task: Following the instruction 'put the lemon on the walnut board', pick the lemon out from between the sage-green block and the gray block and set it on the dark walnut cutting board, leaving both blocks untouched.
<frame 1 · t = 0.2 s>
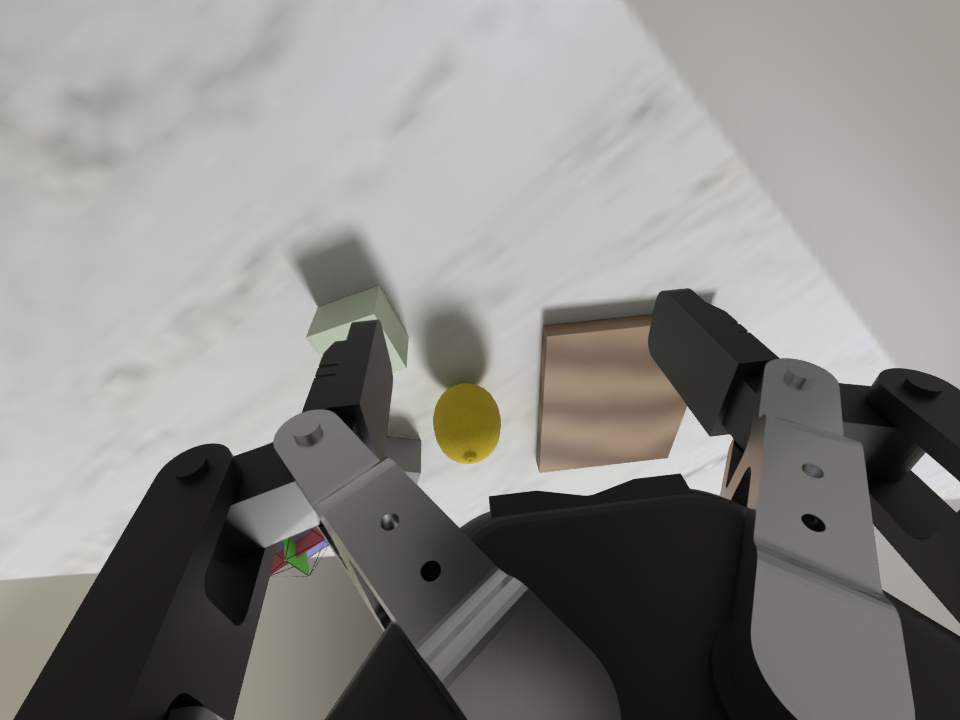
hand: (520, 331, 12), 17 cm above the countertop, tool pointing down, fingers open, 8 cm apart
lemon: (463, 386, 37), on the countertop
geometric puzzle: (302, 513, 47), on the countertop
walnut board: (611, 395, 39), on the countertop
gray block: (392, 452, 42), on the countertop
sage block: (365, 321, 32), on the countertop
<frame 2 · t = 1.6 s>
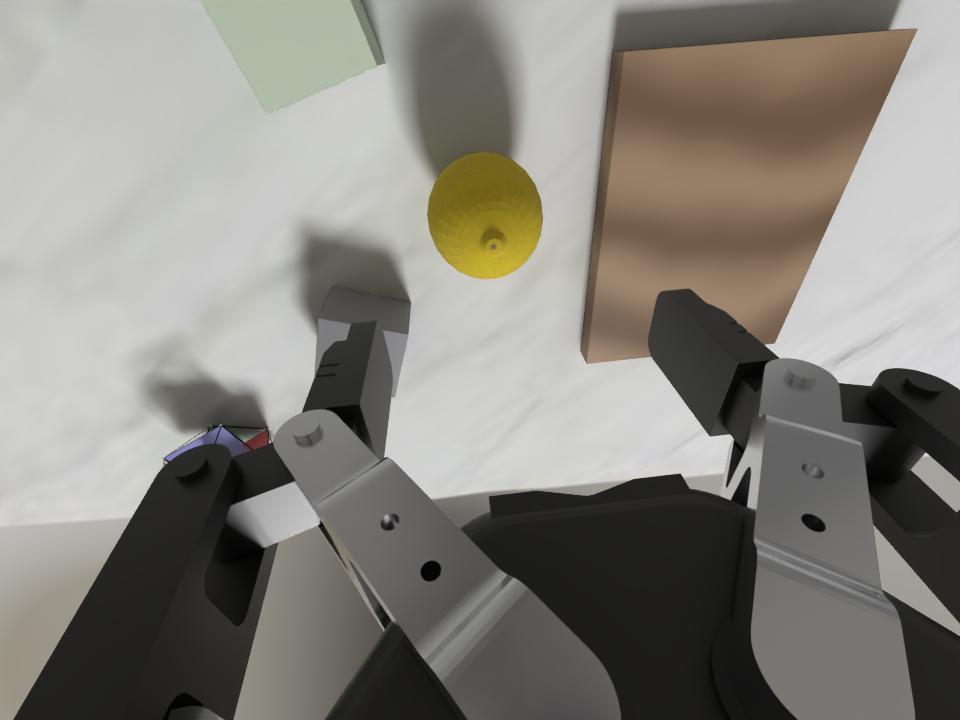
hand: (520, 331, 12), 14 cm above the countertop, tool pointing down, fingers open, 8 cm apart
lemon: (476, 192, 23), on the countertop
geometric puzzle: (243, 435, 33), on the countertop
walnut board: (703, 223, 26), on the countertop
gray block: (367, 325, 28), on the countertop
sage block: (308, 20, 18), on the countertop
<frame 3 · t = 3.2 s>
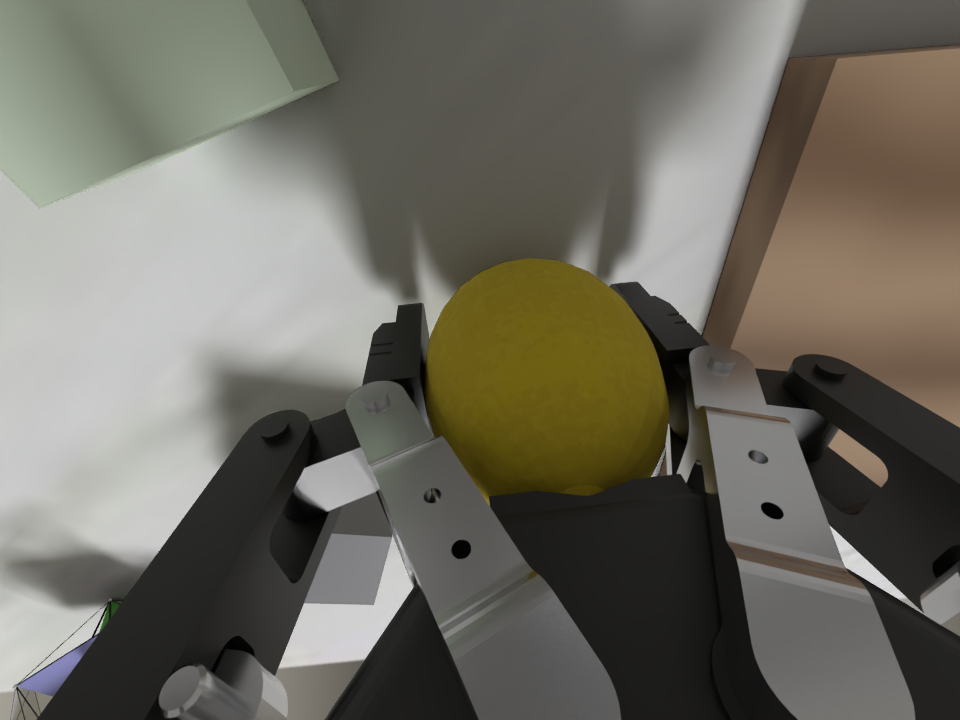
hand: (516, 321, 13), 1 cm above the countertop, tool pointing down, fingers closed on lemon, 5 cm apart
lemon: (510, 299, 14), on the countertop, touching gripper
geometric puzzle: (162, 604, 23), on the countertop
walnut board: (874, 334, 16), on the countertop
gray block: (333, 479, 18), on the countertop
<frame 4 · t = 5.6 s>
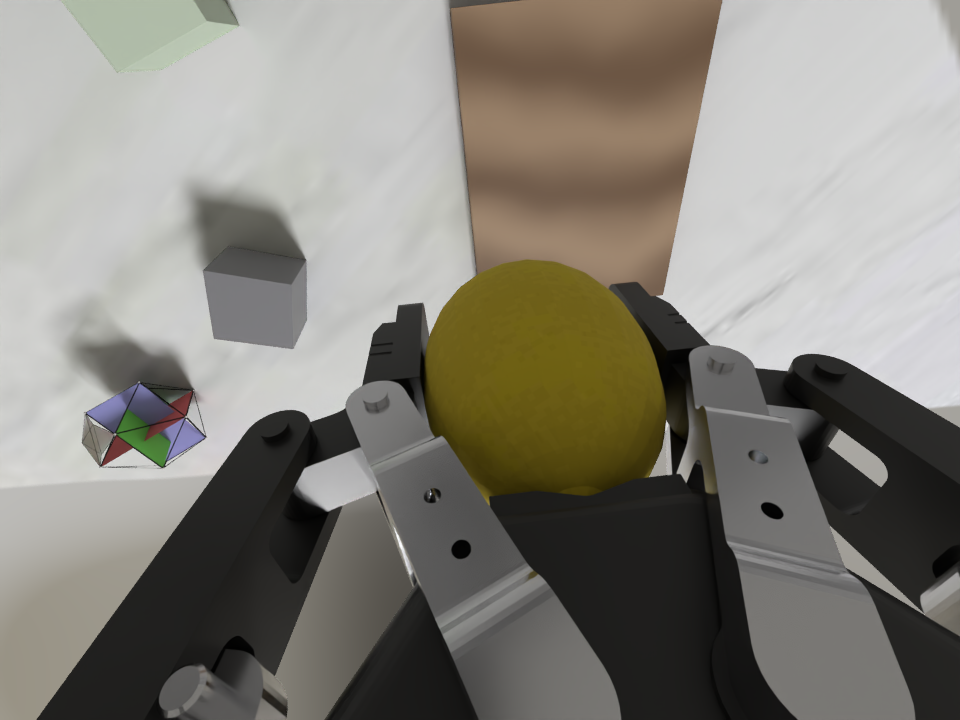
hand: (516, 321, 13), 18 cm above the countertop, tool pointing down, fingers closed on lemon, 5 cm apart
lemon: (508, 300, 14), point 16 cm above the countertop, touching gripper
geometric puzzle: (171, 397, 35), on the countertop
walnut board: (573, 176, 27), on the countertop
gray block: (270, 284, 30), on the countertop
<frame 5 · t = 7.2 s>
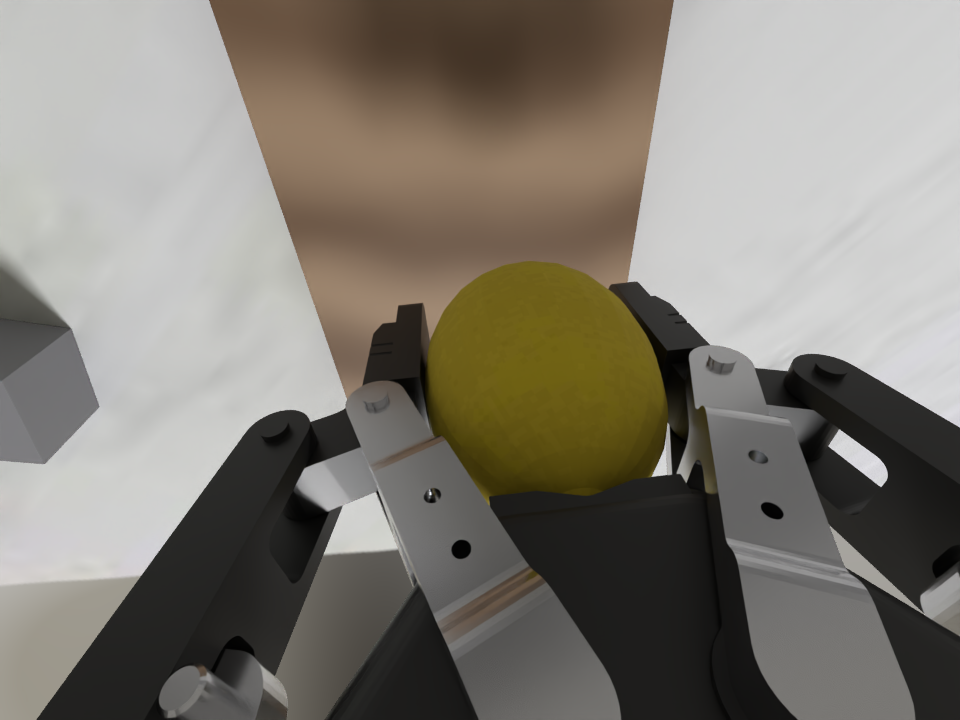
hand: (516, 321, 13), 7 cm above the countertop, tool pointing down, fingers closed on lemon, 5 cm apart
lemon: (510, 301, 14), point 6 cm above the countertop, touching gripper
walnut board: (466, 217, 18), on the countertop
gray block: (28, 361, 20), on the countertop
when the fingers open (4 cm above the countertop, at t = 8.3 s): lemon drops 1 cm, resting on walnut board.
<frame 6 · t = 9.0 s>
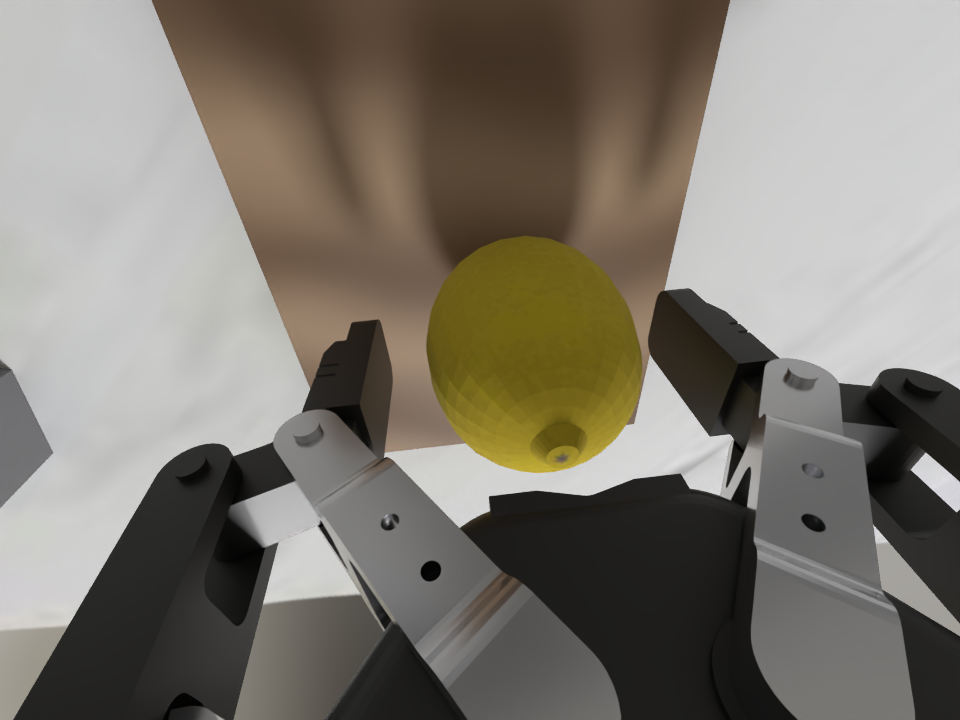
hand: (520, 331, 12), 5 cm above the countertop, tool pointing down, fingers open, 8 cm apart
lemon: (506, 279, 15), point 1 cm above the countertop, touching walnut board
walnut board: (471, 243, 15), on the countertop
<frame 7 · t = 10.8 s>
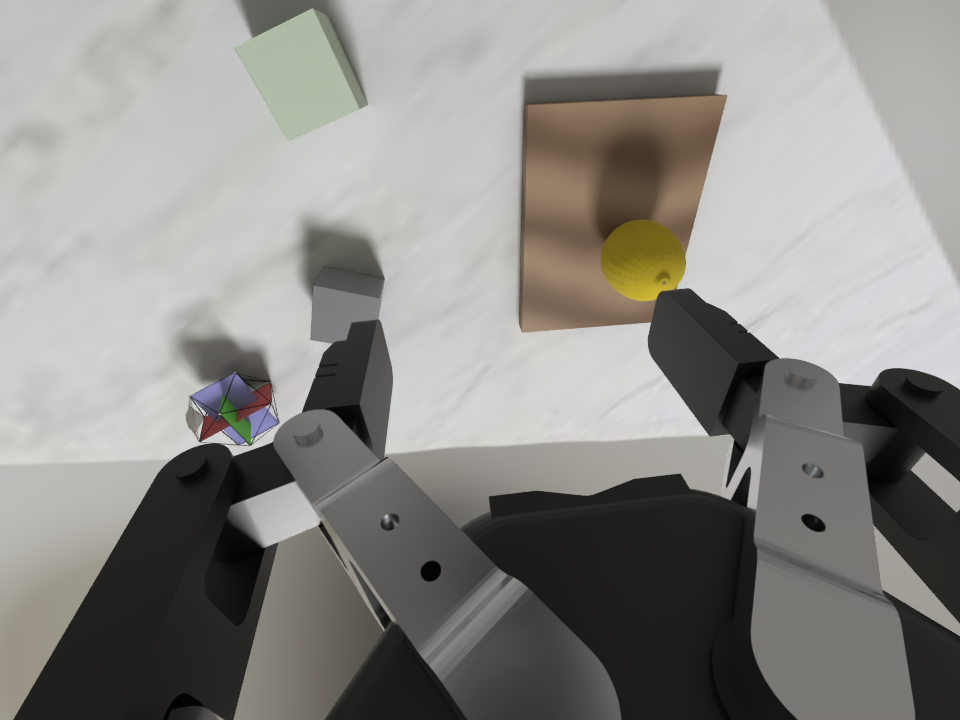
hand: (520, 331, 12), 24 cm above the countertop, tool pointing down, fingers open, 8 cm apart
lemon: (620, 240, 34), point 1 cm above the countertop, touching walnut board
geometric puzzle: (250, 387, 41), on the countertop
walnut board: (603, 225, 35), on the countertop
gray block: (352, 297, 36), on the countertop
sage block: (315, 78, 27), on the countertop
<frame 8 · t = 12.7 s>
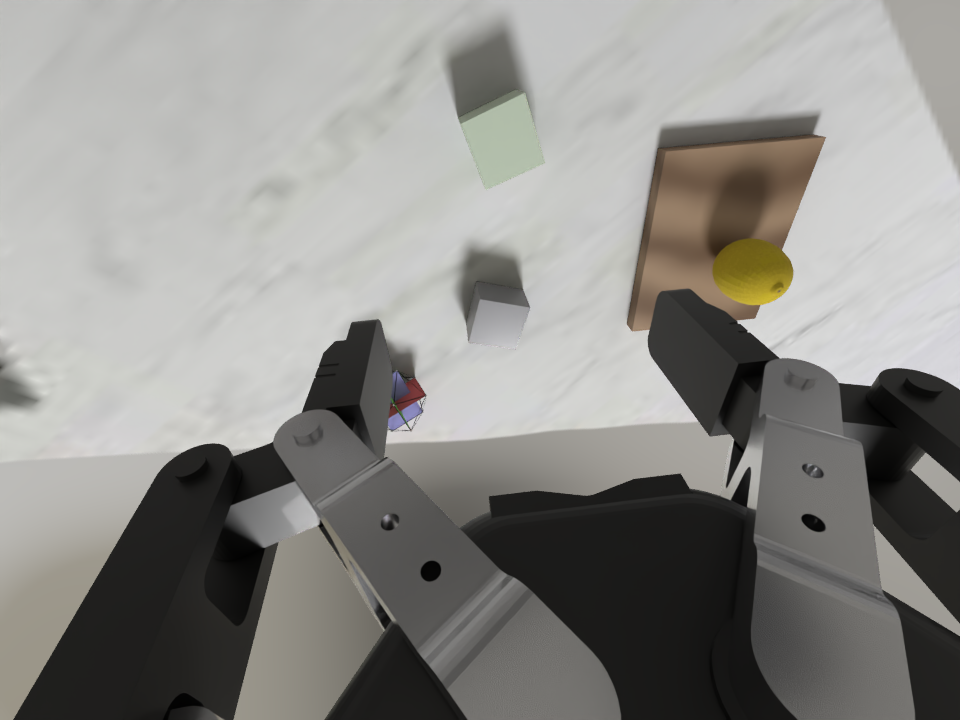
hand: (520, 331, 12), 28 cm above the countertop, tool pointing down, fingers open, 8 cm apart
lemon: (723, 253, 41), point 1 cm above the countertop, touching walnut board
geometric puzzle: (396, 382, 49), on the countertop
walnut board: (708, 241, 41), on the countertop
gray block: (493, 305, 44), on the countertop
sage block: (497, 136, 34), on the countertop
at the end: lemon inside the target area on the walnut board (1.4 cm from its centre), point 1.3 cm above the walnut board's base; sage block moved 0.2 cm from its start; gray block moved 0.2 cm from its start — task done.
